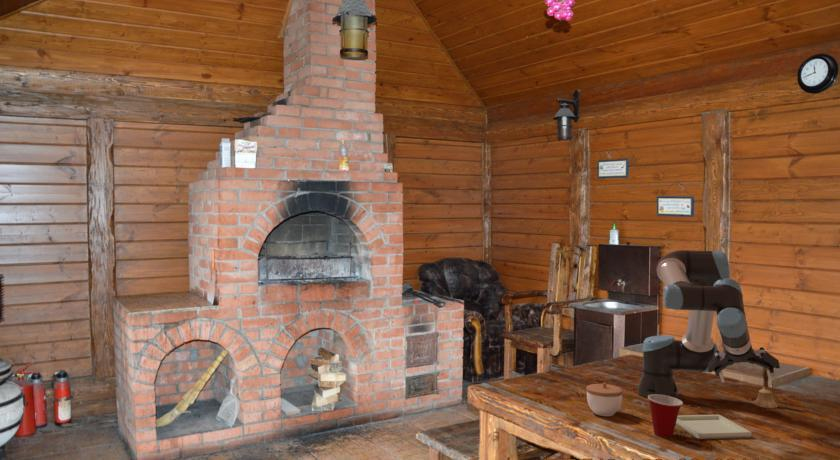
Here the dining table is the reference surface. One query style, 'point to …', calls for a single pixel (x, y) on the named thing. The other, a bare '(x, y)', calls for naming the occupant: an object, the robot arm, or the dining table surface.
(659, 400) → the plastic cup
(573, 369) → the dining table surface
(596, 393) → the lidded bowl
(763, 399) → the hand bell
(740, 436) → the tray
